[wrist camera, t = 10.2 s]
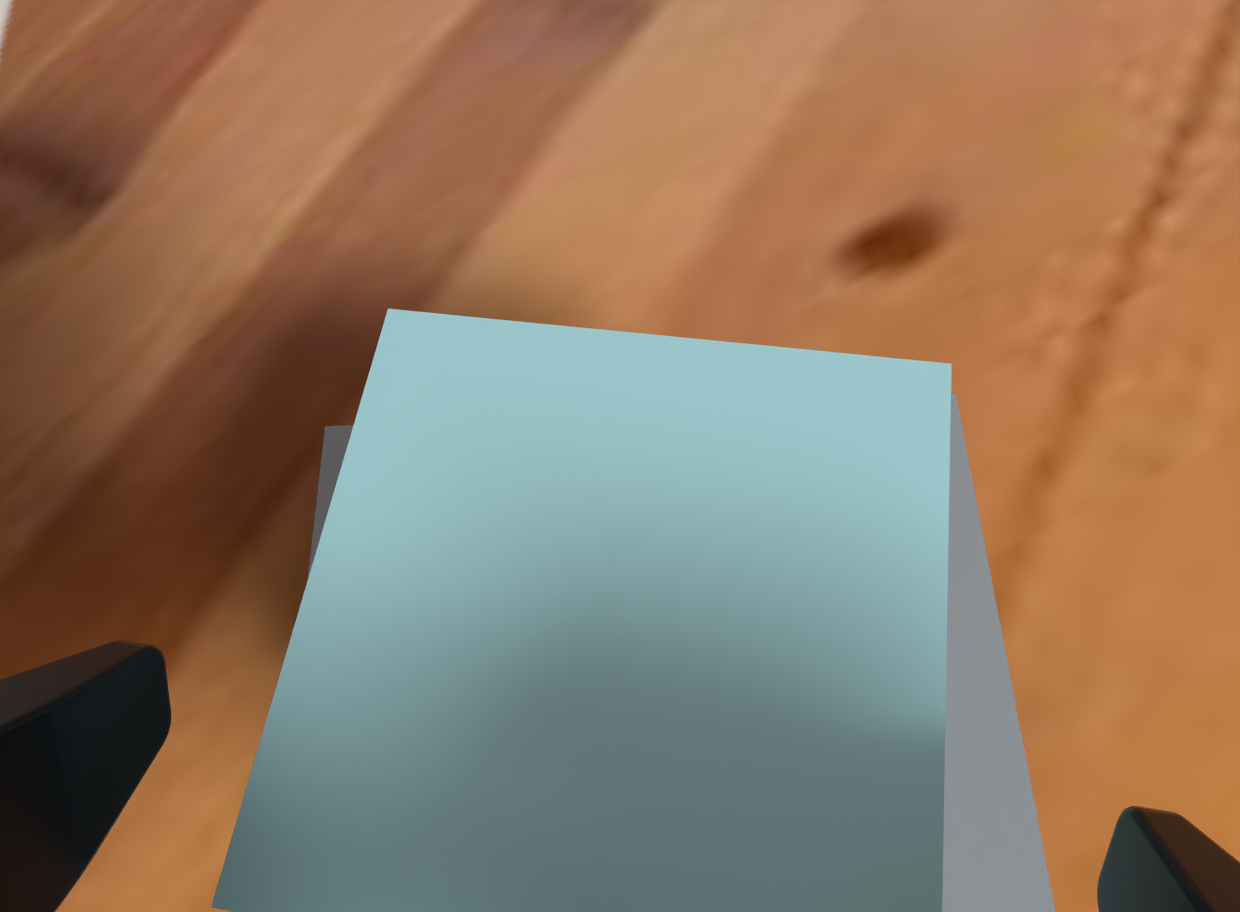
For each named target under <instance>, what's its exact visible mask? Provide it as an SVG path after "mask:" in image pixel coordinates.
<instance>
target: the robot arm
mask: <svg viewBox="0 0 1240 912" xmlns="http://www.w3.org/2000/svg"><path fill="white" fill-rule="evenodd" d="M170 724H171V708H170V700H169V692H168V683H167V675H166V666H165V660H164V656H163V654H162V652H161V651H160V650H159V649H158V648H157V647H155V646H153V645H147V644H141V643H135V642H129V641H114V642H110V643H107V644H104V645H101V646H98V647H95V648H93V649H90V650H87V651H84V652H81V653H78V654H75V655H72V656H69V657H66V658H63V659H60V660H57V661H54V662H51V663H48V664H45V665H42V666H40V667H37V668H34V669H31V670H28V671H25V672H22V673H19V674H16V675H13V676H10V677H7V678H4V679H1V680H0V912H55V911H56V910H57V908H58V907H59V906H60V904H61V903H62V902H63V900H64V899H65V898H66V896H67V895H68V893H69V892H70V891H71V889H72V888H73V886H74V885H75V884H76V882H77V881H78V879H79V878H80V877H81V875H82V874H83V872H84V870H85V869H86V867H87V866H88V864H89V863H90V861H91V860H92V858H93V857H94V855H95V854H96V852H97V851H98V849H99V847H100V846H101V844H102V842H103V841H104V839H105V838H106V836H107V834H108V833H109V831H110V830H111V828H112V826H113V825H114V823H115V821H116V820H117V818H118V817H119V815H120V813H121V812H122V810H123V808H124V807H125V805H126V804H127V802H128V800H129V799H130V797H131V795H132V794H133V792H134V791H135V789H136V787H137V786H138V784H139V783H140V781H141V779H142V778H143V776H144V774H145V773H146V771H147V770H148V768H149V766H150V765H151V763H152V761H153V760H154V758H155V757H156V755H157V753H158V752H159V750H160V748H161V747H162V745H163V743H164V742H165V740H166V737H167V735H168V732H169V728H170ZM1097 899H1098V908H1099V912H1240V862H1239V861H1238V860H1236V859H1235V858H1234V857H1233V856H1231V855H1230V854H1229V853H1228V852H1226V851H1225V850H1224V849H1223V848H1221V847H1220V846H1219V845H1218V844H1216V843H1215V842H1214V841H1213V840H1211V839H1210V838H1209V837H1208V836H1206V835H1205V834H1204V833H1203V832H1201V831H1200V830H1199V829H1198V828H1196V827H1195V826H1194V825H1193V824H1191V823H1190V822H1189V821H1188V820H1186V819H1185V818H1184V817H1182V816H1181V815H1179V814H1177V813H1174V812H1170V811H1163V810H1157V809H1151V808H1145V807H1139V806H1131V807H1128V808H1126V809H1124V810H1123V812H1122V813H1121V815H1120V816H1119V819H1118V821H1117V824H1116V827H1115V830H1114V833H1113V836H1112V839H1111V842H1110V845H1109V848H1108V851H1107V854H1106V857H1105V860H1104V863H1103V867H1102V870H1101V873H1100V876H1099V880H1098V888H1097Z"/></svg>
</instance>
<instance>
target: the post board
mask: <svg viewBox="0 0 1240 912" xmlns="http://www.w3.org/2000/svg"><path fill="white" fill-rule="evenodd" d="M353 426H354V425H340V426H325V431H324V440H323V448H322V457H321V466H320V474H319V483H318V492H317V501H316V509H315V518H314V527H313V535H312V544H311V553H310V562H309V570H308V578H309V574H310V571H311V568H312V564H313V561H314V558H315V554H316V551H317V547H318V544H319V541H320V537H321V534H322V530H323V527H324V524H325V520H326V517H327V514H328V510H329V507H330V503H331V500H332V497H333V493H334V490H335V487H336V483H337V480H338V476H339V473H340V470H341V466H342V463H343V459H344V456H345V453H346V449H347V446H348V443H349V439H350V436H351V432H352V429H353ZM307 581H308V579H307ZM942 912H1056V911H1055V906H1054V901H1053V896H1052V891H1051V885H1050V880H1049V875H1048V870H1047V865H1046V859H1045V854H1044V849H1043V844H1042V839H1041V833H1040V828H1039V823H1038V818H1037V813H1036V807H1035V802H1034V797H1033V792H1032V787H1031V781H1030V776H1029V771H1028V766H1027V761H1026V755H1025V750H1024V745H1023V740H1022V735H1021V730H1020V724H1019V719H1018V714H1017V709H1016V704H1015V698H1014V693H1013V688H1012V683H1011V678H1010V672H1009V667H1008V662H1007V657H1006V652H1005V646H1004V641H1003V636H1002V631H1001V626H1000V620H999V615H998V610H997V605H996V600H995V595H994V589H993V584H992V579H991V574H990V569H989V563H988V558H987V553H986V548H985V543H984V537H983V532H982V527H981V522H980V517H979V511H978V506H977V501H976V496H975V491H974V485H973V480H972V475H971V470H970V465H969V459H968V454H967V449H966V444H965V439H964V434H963V428H962V423H961V418H960V413H959V408H958V402H957V397H956V393H952V394H951V418H950V478H949V537H948V597H947V656H946V716H945V775H944V835H943V894H942Z"/></svg>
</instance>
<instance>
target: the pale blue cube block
mask: <svg viewBox="0 0 1240 912" xmlns="http://www.w3.org/2000/svg"><path fill="white" fill-rule="evenodd" d="M950 418H951V364H948V363H938V362H928V361H917V360H907V359H897V358H887V357H876V356H866V355H856V354H846V353H836V352H825V351H815V350H805V349H795V348H785V347H774V346H764V345H754V344H744V343H734V342H723V341H713V340H703V339H693V338H682V337H672V336H662V335H652V334H642V333H631V332H621V331H611V330H601V329H591V328H580V327H570V326H560V325H550V324H540V323H529V322H519V321H509V320H499V319H488V318H478V317H468V316H458V315H448V314H437V313H427V312H417V311H407V310H397V309H388V311H387V314H386V317H385V321H384V324H383V328H382V331H381V334H380V338H379V341H378V344H377V348H376V351H375V355H374V358H373V361H372V365H371V368H370V371H369V375H368V378H367V382H366V385H365V388H364V392H363V395H362V399H361V402H360V405H359V409H358V412H357V415H356V419H355V422H354V426H353V429H352V432H351V436H350V439H349V443H348V446H347V449H346V453H345V456H344V459H343V463H342V466H341V470H340V473H339V476H338V480H337V483H336V487H335V490H334V493H333V497H332V500H331V503H330V507H329V510H328V514H327V517H326V520H325V524H324V527H323V530H322V534H321V537H320V541H319V544H318V547H317V551H316V554H315V558H314V561H313V564H312V568H311V571H310V574H309V578H308V581H307V585H306V588H305V591H304V595H303V598H302V602H301V605H300V608H299V612H298V615H297V618H296V622H295V625H294V629H293V632H292V635H291V639H290V642H289V646H288V649H287V652H286V656H285V659H284V662H283V666H282V669H281V673H280V676H279V679H278V683H277V686H276V689H275V693H274V696H273V700H272V703H271V706H270V710H269V713H268V717H267V720H266V723H265V727H264V730H263V733H262V737H261V740H260V744H259V747H258V750H257V754H256V757H255V761H254V764H253V767H252V771H251V774H250V777H249V781H248V784H247V788H246V791H245V794H244V798H243V801H242V805H241V808H240V811H239V815H238V818H237V821H236V825H235V828H234V832H233V835H232V838H231V842H230V845H229V848H228V852H227V855H226V859H225V862H224V865H223V869H222V872H221V876H220V879H219V882H218V886H217V889H216V892H215V896H214V899H213V903H212V906H211V907H213V908H218V909H224V910H229V911H235V912H942V894H943V835H944V775H945V716H946V656H947V597H948V537H949V478H950Z"/></svg>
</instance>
